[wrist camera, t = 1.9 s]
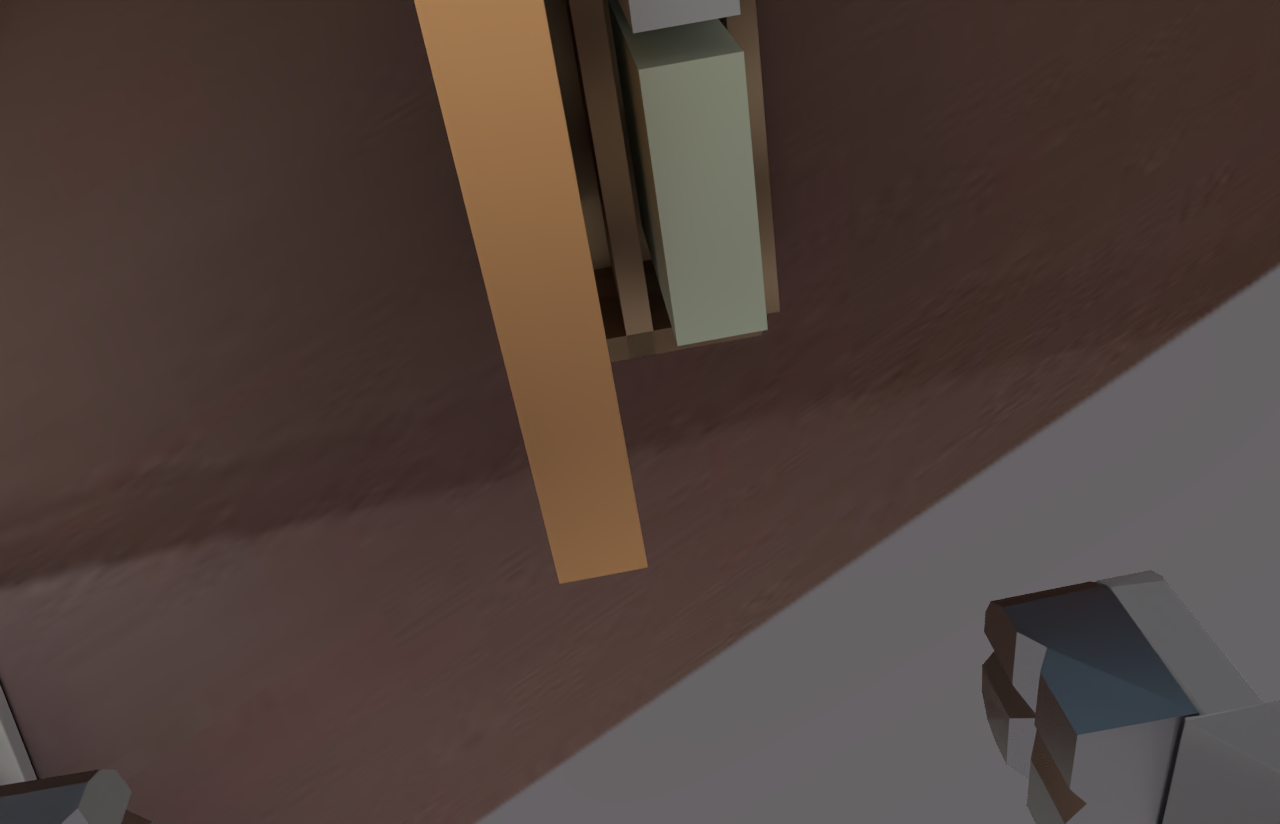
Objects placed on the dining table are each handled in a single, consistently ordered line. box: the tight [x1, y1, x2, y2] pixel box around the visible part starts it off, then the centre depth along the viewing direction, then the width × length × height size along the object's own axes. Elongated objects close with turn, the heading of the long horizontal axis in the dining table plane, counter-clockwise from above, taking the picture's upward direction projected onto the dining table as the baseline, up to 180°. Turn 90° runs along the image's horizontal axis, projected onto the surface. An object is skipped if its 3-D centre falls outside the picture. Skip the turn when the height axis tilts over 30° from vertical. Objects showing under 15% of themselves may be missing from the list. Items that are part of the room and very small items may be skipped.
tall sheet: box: [414, 0, 648, 584], centre depth 28 cm, size 16×2×22 cm, turn 8°
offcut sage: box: [608, 0, 768, 346], centre depth 36 cm, size 9×3×10 cm, turn 8°
